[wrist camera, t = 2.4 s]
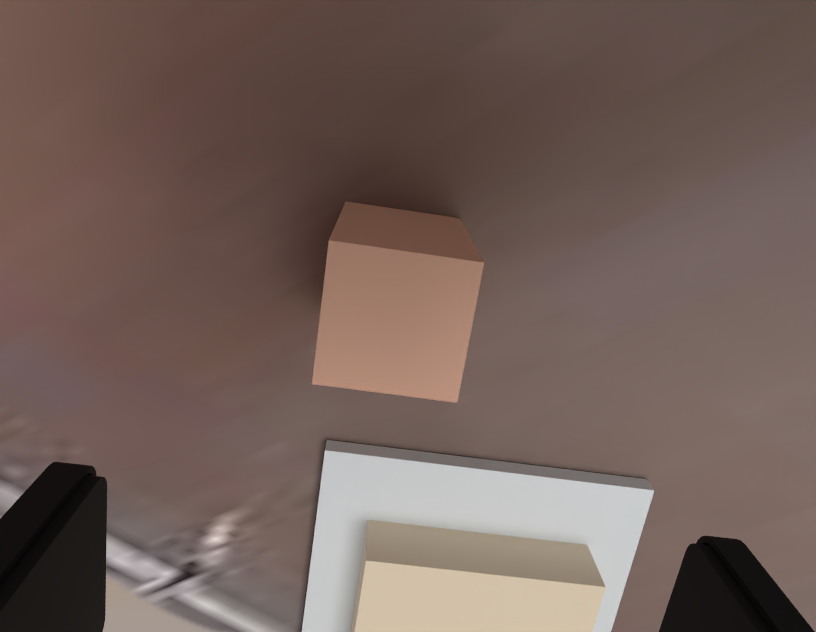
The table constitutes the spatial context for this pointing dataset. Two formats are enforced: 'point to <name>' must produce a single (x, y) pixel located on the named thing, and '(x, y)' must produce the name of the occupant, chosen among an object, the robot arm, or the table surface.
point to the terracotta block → (397, 303)
